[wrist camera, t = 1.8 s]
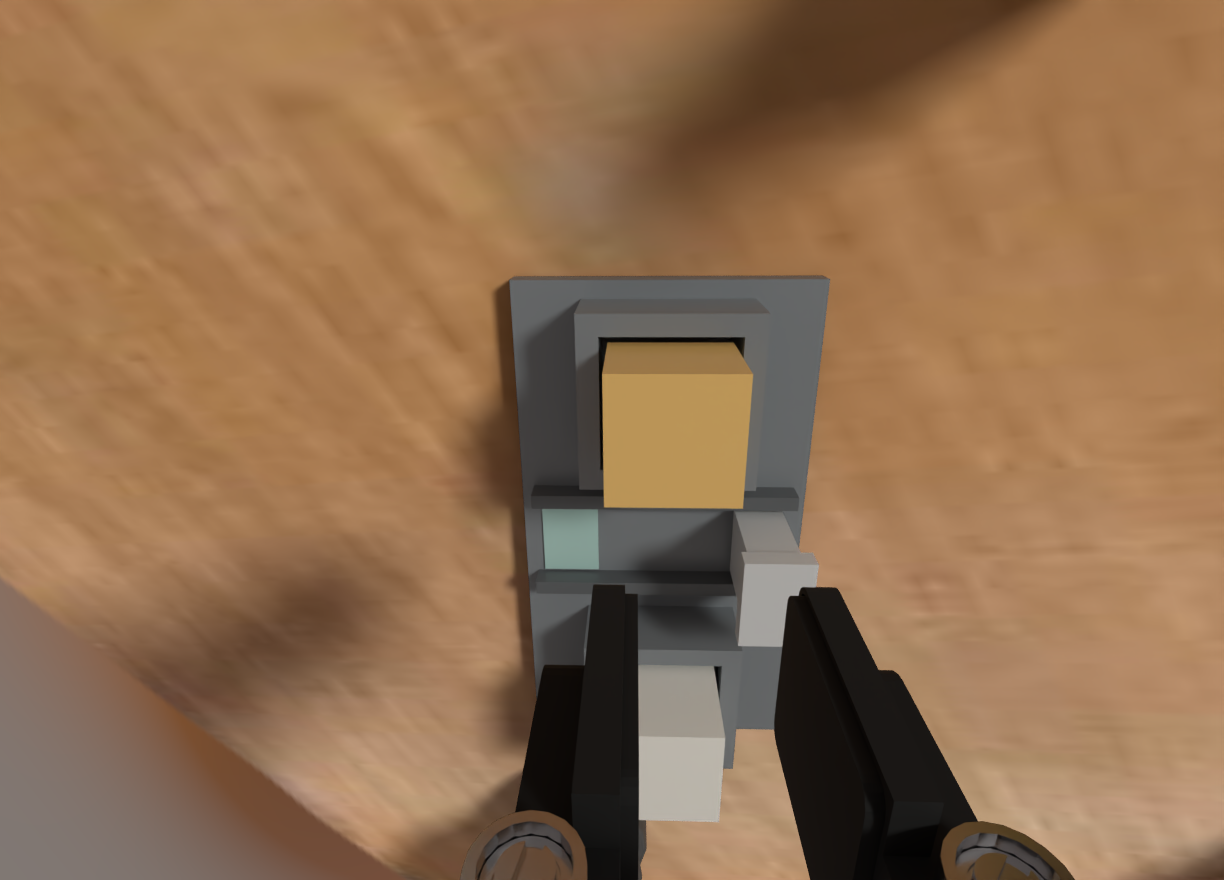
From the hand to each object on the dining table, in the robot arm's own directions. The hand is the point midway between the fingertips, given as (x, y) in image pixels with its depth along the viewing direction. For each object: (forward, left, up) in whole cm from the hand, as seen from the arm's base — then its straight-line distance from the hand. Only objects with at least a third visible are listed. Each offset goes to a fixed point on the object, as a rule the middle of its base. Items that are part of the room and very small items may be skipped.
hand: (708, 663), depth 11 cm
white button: (0, +14, -14) cm, 20 cm away
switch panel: (0, +7, -17) cm, 19 cm away
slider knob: (-4, +7, -16) cm, 18 cm away
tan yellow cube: (0, 0, -14) cm, 14 cm away
